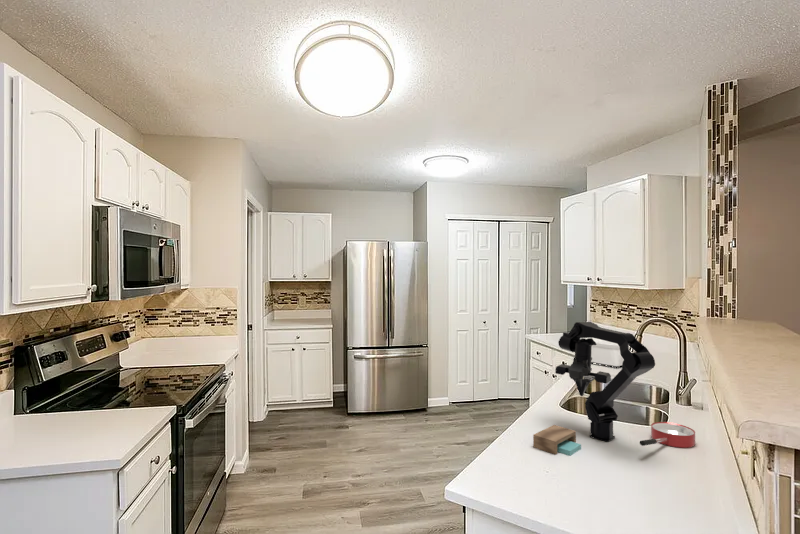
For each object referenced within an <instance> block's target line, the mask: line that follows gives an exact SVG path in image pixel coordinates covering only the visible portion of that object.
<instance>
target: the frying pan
mask: <svg viewBox="0 0 800 534" xmlns="http://www.w3.org/2000/svg"><path fill="white" fill-rule="evenodd" d="M650 430H651V431H650V436H651V438H649V439H644V440H643V439H642V440H640V441H639V445H640V446H642V447H644V446H649V445H655V444H657V443H659V444H661V445H663V446H668V447H672V448H678V449H679V448H680V449H690V448H693V447H694V446H695V445H696V431H695V430H694V429H693V428H690V427H689V426H685V425H683V424H679V423H675V422H669V421H668V422H667V421H657V422H653V423H651V425H650Z"/></svg>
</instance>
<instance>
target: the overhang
mask: <svg viewBox="0 0 800 534" xmlns="http://www.w3.org/2000/svg"><path fill="white" fill-rule="evenodd" d="M532 437H533V444H532V445H533V448H534V447H535V449H537V448H538V450H540V451H544V452H547V453H548V454H549V453H550V454H552V455H554V456H555V455H558V452H557V444H559V443H561V442H563V441H565V440H568V441H571V442H575V443H577V431H576V430H574V429H569V428H566V427H563V426H560V425H557V424H556V425H555V424H552V425H550V426H549V427H546V428H544V429H543V430H540V431H538V432H536V433H533V435H532Z"/></svg>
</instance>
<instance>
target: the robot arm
mask: <svg viewBox="0 0 800 534" xmlns="http://www.w3.org/2000/svg"><path fill="white" fill-rule="evenodd" d="M585 338H588V339H585ZM592 338H597V339H601V340H605V341H609V342H613V343H617V344H618V345H619V347H620V354H621V356H622V358H623V359H624V361H623V363H622V367H621V369H620V370H619V372H618V373H617V374H616V375H615V376H614V377H613V378H612V375H611V373H610V372H605V371H601V370H600V371H598V372H592V370H593V369H592V364H591V360H592V357H591V350H592V345H596V342H595V341H593V339H592ZM628 345H629V346H630V347H631V348H632V349H633V350H635V353H631V352H630V350H629V348H628ZM558 346H559V348H560V349H561V350H565V351H568V352H571V353H574V357H573V359H572V363H571V364H570V365H568V364H564V363H561V364H558V365H557V366H556V367H555V374H558V375H561V376H562V375H565V374H566V373H567V374H568V376H569V378H570V379H571V380H573V381H574V383H575V385H576V387H577V390H578V394H579V396H580V397H583V396H584V394H585V392H586V390H587V388H588V386H589V384H590V383H591V382H593V381H594V380H595V381H596V382H597V383H601V384H606V386H605V387H604V388H603V389H602V390H599V391H598V390H597V391H591V392H590V394H589V395H588V396H587V397H585V399H586V400H585V402H584V406H585V407H584V408H585V411H586V414H587V419H588V420H590V431H589V432H590V434H589V437H590V438H593V439H597V440H600V441H604V442H606V443H609V442H611V441H612V440H614V439H615V438H616V436H615V435H614V422H616V421H617V420H618V417H619V415H618V414H617V412H616V411H615V409H614V405H615V404H614V403H615V402H614V401H615V400H616V399H617V398H618V397H619V395H621V393H622V392H624V390H626V389H627V387H628V386H630V384H631V383H632V382H633V381H634V380H635V379H636V378H637V377H639V376H642V375H644V374H646V373H648V372H649V371H650V370H652V369H654V367H655V366H656V361H655V358H654V356H653V355H652V353H651V352H650V351H649V349H648V348H647V347H646V346H645V345H643V344H642V343H641V342H640V341H639V340H638V339H637V338H636V337H635V335H634V334H633V333H630V332H623V331H617V330H613V329H609V328H604V327H600V326H599V325H598V324H597V323H594V322H592V321H578V322H577V321H576V322H574V324H573V326H572V328H571V329H570V331H569V332H563V333H562V336H560V338H559V340H558ZM607 383H608V384H607Z"/></svg>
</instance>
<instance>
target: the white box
mask: <svg viewBox="0 0 800 534" xmlns="http://www.w3.org/2000/svg"><path fill="white" fill-rule="evenodd" d="M584 339H588V338H584ZM592 339H593V341H595V342H596V345H592V350H591V357H592V360H591V363H596V364H601V365H607V366H613V367H619V368H621V367H620V366H622V363H623V361H624V359H623V358H622V356H621V354H620V347H619V345H618V344H617V343H613V342H609V341H605V340H601V339H597V338H592ZM628 348H629V345H628ZM601 365H600V366H601ZM607 366H606V367H607Z"/></svg>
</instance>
